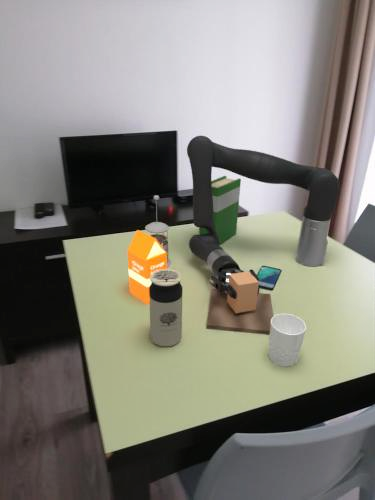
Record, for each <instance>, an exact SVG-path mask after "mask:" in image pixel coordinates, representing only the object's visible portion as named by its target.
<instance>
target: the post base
mask: <svg viewBox="0 0 375 500" xmlns="http://www.w3.org/2000/svg"><path fill="white" fill-rule="evenodd" d="M209 296H210V297H209V304H208V312H207V318H206V319H207V321H206V329H208V330H209V329H210V330H218V331H227V332H228V331H229V332H236V333H237V332H239V333H249V334H256V335H257V334H259V335H270V324H271V319H272V317H273V316H274V309H273V303H272V297H271V296H272V295H271V293H263V292H262V293H261V292H259V293H258V295H257V302H256V310H252V311H246V312H241V313H235V312H234V310H233V309H232V308H231V306H230V305H229V303H228V302H227V296H228V293H226V292H225V291H223V292H221V293H220V292H218V291H217V290H216V289H215V288H211V290H210V295H209Z"/></svg>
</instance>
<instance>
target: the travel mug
mask: <svg viewBox="0 0 375 500" xmlns="http://www.w3.org/2000/svg"><path fill="white" fill-rule="evenodd" d="M182 277H183V275H182V274H181V272H179V271H177V270H175V269H172V268H171V269H170V268H167V269H161V270H157V271H155V272H153V273H152V274H151V275H150V280H151V282H152V283H151V285H150V287H149V302H150V304H149V326H150V329H149V331H150V339H151V341H152V342H153V343H154V344H155V345H157V346H159V347H172V346H174V345H177V344H178V343H179V342H180V341H181V339H182V335H183V331H182V330H183V329H182V328H183V327H182V326H183V286H182V284H181V280H182Z"/></svg>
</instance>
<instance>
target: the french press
mask: <svg viewBox="0 0 375 500" xmlns="http://www.w3.org/2000/svg"><path fill="white" fill-rule="evenodd" d="M153 200H155V209H156V212H155V213H156V214H155V216H156V218H155V219H156V221H153V222H151V223H149V224H147V225H145V227H144V229H145V231H147V232H148V233H150V234H149V235H150V236H152V237H154V238H156V240H157V241H158V243H159V244H160V245H161V246H162V248H163V249H164V250H165V252H167V268H169V267H171V265H172V261H171V260H170V259H169V241H168V237H169V235H168V230H169V227H170V226H169V225H167V224H166V223H163V222H161V221H158V204H157V203H158V201H157V200H160V196H159V195H157V194H156V195H153ZM165 232H166V235H165V234H164V233H165ZM151 233H152V234H151Z"/></svg>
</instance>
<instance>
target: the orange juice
mask: <svg viewBox="0 0 375 500" xmlns="http://www.w3.org/2000/svg"><path fill="white" fill-rule="evenodd" d="M150 235H151V234H148V233H145V232H143V231H141V230H139V229H137V230H136V232H135V233H134V235H133V237H132V240H131V242H130V244H129V246H128V249H127V250H126V251H127V262H128V263H127V265H128V271H127V272H128V279H129V280H128V283H129V293H130V294H131V295H133V296H134V297H136V299H137V298H138V299H139V300H140V301H141V302H143V303H144V304H146V305H147V306H148V305H150V302H149V287H150V285H151V283H152V282H151V280H150V275H151V274H152V273H153V272H155V271H157V270H161V269H168V267H167V252H165V250H164V249H163V248H162V246H163V245H162V244H161V245H160V244H159V243H158V241H157V240H156V238H154V237H152V236H150Z"/></svg>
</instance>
